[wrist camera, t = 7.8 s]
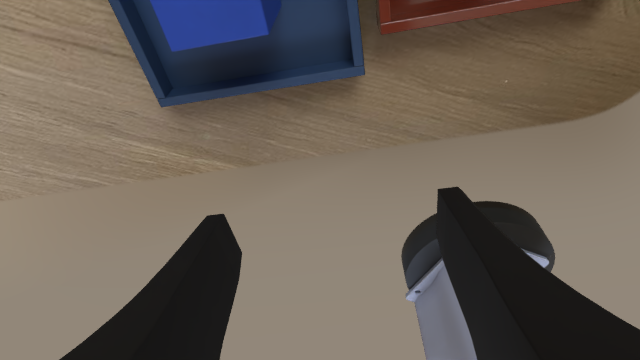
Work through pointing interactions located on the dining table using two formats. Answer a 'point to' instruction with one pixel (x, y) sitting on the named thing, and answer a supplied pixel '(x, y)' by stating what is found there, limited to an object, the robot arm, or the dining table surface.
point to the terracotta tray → (445, 11)
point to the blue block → (213, 20)
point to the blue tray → (248, 52)
